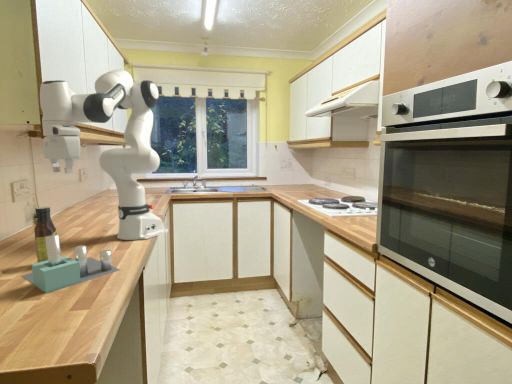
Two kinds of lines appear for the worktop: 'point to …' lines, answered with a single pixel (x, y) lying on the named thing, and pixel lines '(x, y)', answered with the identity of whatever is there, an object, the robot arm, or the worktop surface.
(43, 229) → the sauce bottle
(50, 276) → the block
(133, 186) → the robot arm
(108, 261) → the short pin
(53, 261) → the long pin
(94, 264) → the mat
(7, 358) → the worktop surface
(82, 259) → the medium pin
